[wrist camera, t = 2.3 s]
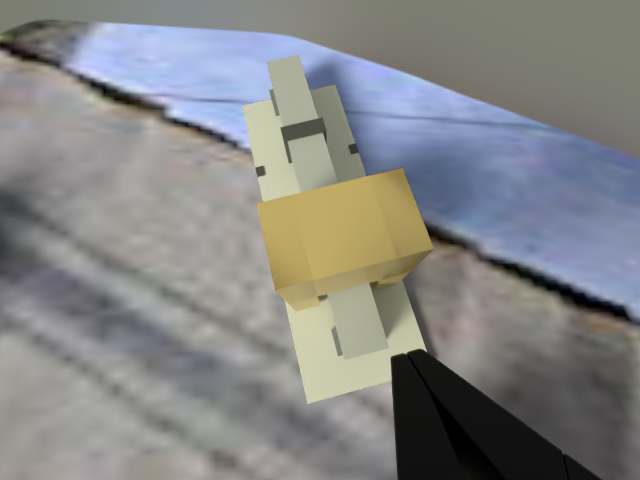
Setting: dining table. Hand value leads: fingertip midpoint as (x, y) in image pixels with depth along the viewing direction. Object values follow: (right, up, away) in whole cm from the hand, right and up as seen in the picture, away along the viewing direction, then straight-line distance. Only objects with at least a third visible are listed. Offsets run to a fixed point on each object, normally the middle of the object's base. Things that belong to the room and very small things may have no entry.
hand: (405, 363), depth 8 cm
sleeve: (-1, +1, +14) cm, 14 cm away
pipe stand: (-2, +5, +16) cm, 17 cm away
